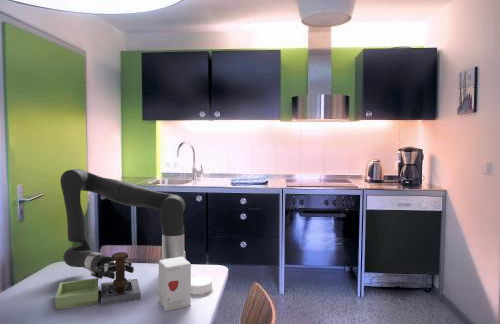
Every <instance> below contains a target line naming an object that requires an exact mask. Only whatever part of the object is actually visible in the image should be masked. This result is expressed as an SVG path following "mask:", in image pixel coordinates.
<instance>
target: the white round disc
mask: <svg viewBox="0 0 500 324" xmlns="http://www.w3.org/2000/svg"><path fill="white" fill-rule="evenodd" d="M212 290H213V279H212V278H210V277H208V276H203V275H201V276H199V275H198V276H193V277H192V276H191V295H196V296H198V295H205V294H207V293H208V294H209V292H211V291H212Z"/></svg>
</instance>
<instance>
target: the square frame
mask: <svg viewBox="0 0 500 324" xmlns="http://www.w3.org/2000/svg"><path fill="white" fill-rule="evenodd" d="M127 289H130V290H129V291H128V290H127ZM125 290H127V291H125V292H121V293H116V287H115V286H114V285H113V281H109V282H101V283H100V301H101V302H100V305H101V306H106V305H107V306H108V305H113V304H118V303H125V302H133V301H138V300H141V299H142V295H141V294H142V293H141V289H140V285H139V282H138V278H132V279H127V284H126V285H125ZM113 291H115V293H109V292H113Z"/></svg>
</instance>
